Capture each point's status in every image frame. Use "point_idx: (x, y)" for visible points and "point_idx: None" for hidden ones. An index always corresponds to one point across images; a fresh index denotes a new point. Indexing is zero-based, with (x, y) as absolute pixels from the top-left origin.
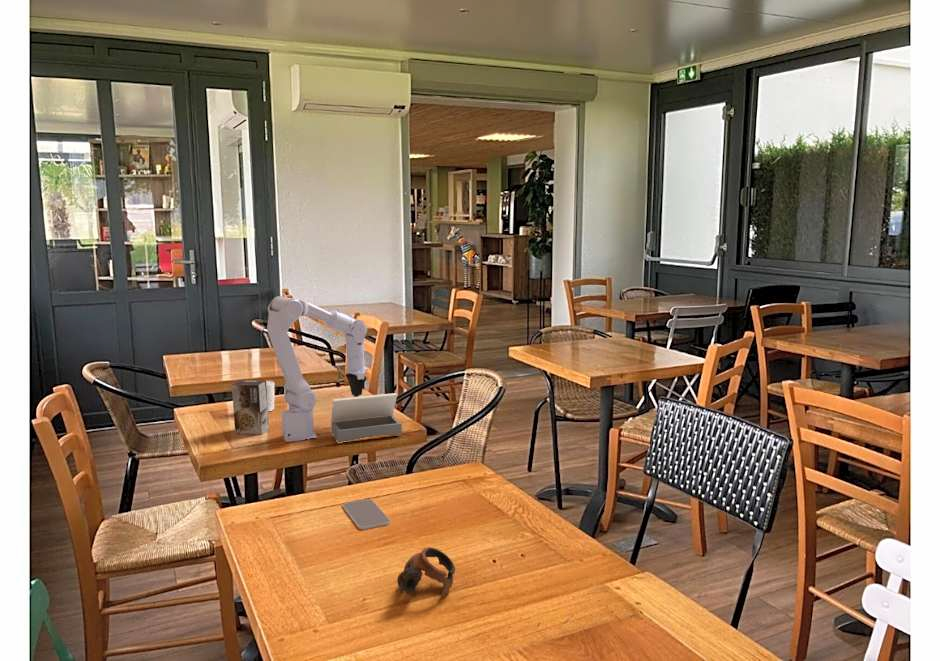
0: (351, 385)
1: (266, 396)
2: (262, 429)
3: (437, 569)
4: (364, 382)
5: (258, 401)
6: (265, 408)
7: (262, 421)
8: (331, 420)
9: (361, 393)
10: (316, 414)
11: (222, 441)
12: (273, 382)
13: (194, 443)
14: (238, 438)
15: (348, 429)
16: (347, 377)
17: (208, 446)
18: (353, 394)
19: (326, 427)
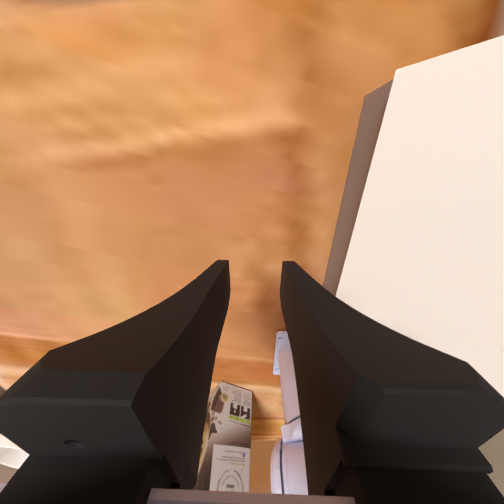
0: (214, 347)
1: (207, 482)
2: (248, 399)
3: None
4: (395, 333)
5: (248, 489)
6: (224, 443)
7: (246, 417)
8: None
9: (306, 273)
10: (126, 301)
11: (264, 423)
12: (1, 446)
13: (258, 439)
14: (259, 411)
15: None
16: (198, 457)
17: (279, 432)
18: (229, 290)
19: (254, 301)
